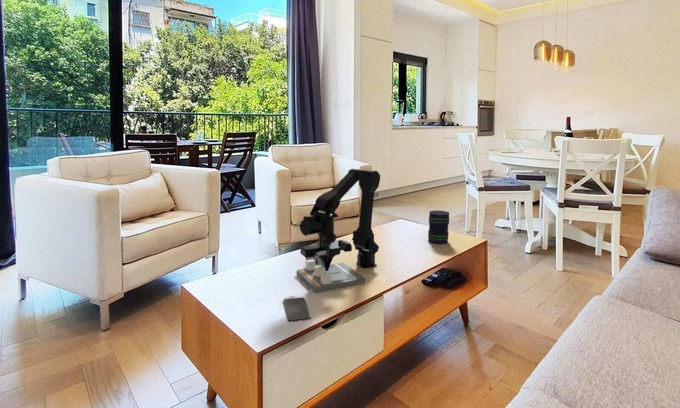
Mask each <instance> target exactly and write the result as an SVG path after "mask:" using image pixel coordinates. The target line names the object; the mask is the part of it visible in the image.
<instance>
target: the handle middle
mask: <svg viewBox="0 0 680 408" xmlns="http://www.w3.org/2000/svg"><path fill="white" fill-rule="evenodd" d="M314 269H315V276H316V277H321V273H323V272H325V267H324V266H323V264H322V265H318V266H314Z"/></svg>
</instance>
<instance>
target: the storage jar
mask: <svg viewBox="0 0 680 408" xmlns="http://www.w3.org/2000/svg"><path fill="white" fill-rule="evenodd" d="M428 214H429V216H428V224H429V225H428V232H427V233H428V234H427V237H428V240H427V241H428V243H430V244H432V245H446V244H448V242H449V241H448V239H449V225H450V212H449V211H446V210H430V211H429V213H428Z"/></svg>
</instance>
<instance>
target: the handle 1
mask: <svg viewBox="0 0 680 408" xmlns="http://www.w3.org/2000/svg"><path fill="white" fill-rule="evenodd" d="M314 266H315V261H314V260H313V259H311V260H306V259H305V269H307V270H308V271H311V270H315V269H314Z"/></svg>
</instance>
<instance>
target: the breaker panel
mask: <svg viewBox="0 0 680 408" xmlns="http://www.w3.org/2000/svg"><path fill="white" fill-rule="evenodd" d="M325 272H330V273H331V283H330V284H324V285H323V284H322V283H321V277H316V276H315V270H311V271H308V270H307V269H306V268H302V269H297V270H296V276H297V277H298V278H299V279H301V281H302V282H304V284H305V285H306V286H307V287H309V289H310V290H311V291H312V292H313V293H315V294H317V293H321V292H322V293H323V292H327V291H333V290H338V289H344V288H349V287H353V286H359V285H364V284H366V282H367V281H366V280H367V278H366V277H364V276H363V275H362V274H361V273H359V272H357V271H356V270H354V269H353V268H352V267H350V266H349V265H348V264H346V263H344V262H337V263H331V264H330V267H329V270H328V271H325Z"/></svg>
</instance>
